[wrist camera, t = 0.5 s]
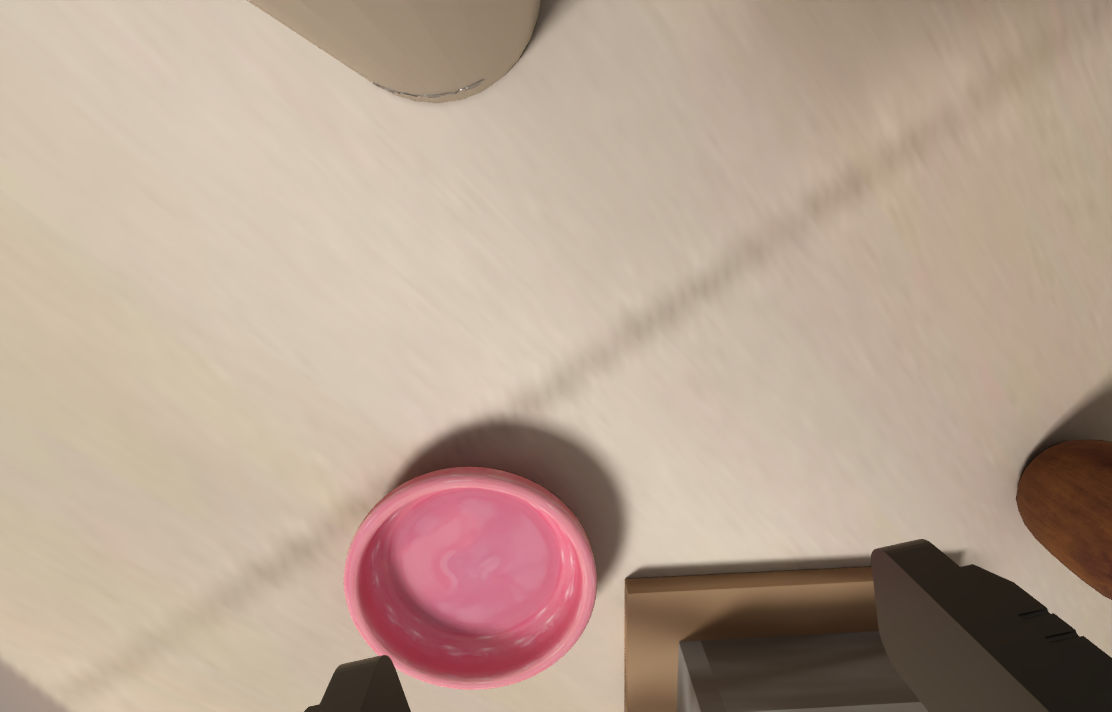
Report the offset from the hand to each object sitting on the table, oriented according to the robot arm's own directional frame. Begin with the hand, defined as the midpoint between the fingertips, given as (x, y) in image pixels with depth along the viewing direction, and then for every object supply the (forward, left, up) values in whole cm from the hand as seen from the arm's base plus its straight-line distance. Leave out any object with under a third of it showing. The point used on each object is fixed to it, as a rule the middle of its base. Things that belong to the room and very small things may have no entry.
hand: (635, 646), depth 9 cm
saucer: (+12, -5, -19) cm, 23 cm away
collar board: (+23, +12, -19) cm, 32 cm away
